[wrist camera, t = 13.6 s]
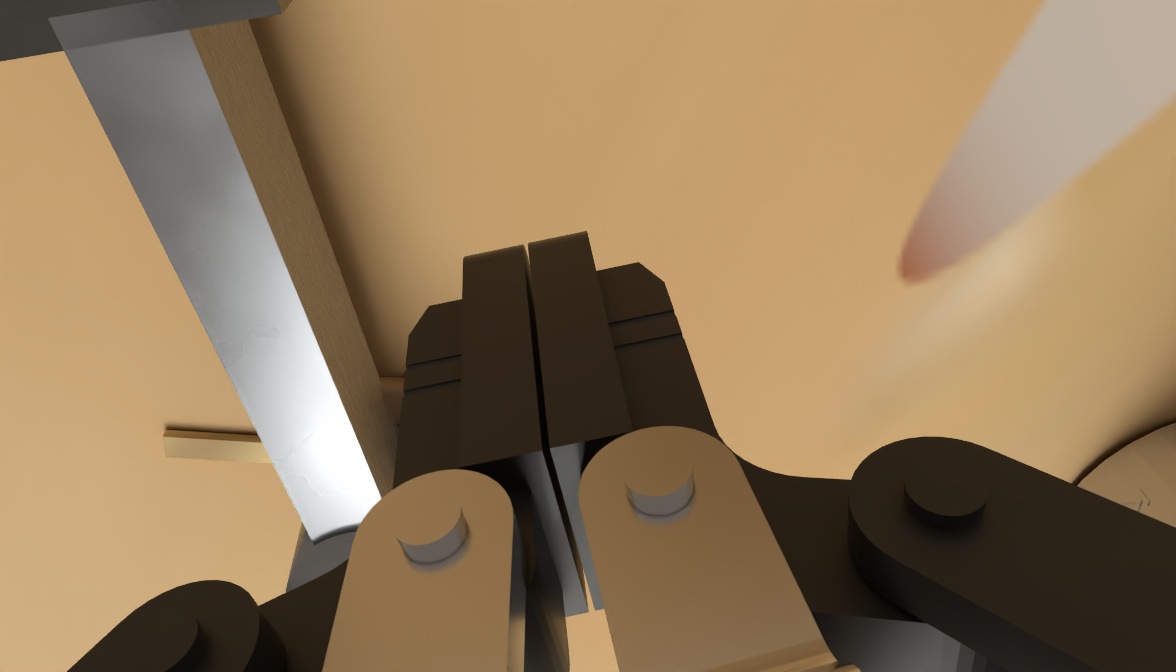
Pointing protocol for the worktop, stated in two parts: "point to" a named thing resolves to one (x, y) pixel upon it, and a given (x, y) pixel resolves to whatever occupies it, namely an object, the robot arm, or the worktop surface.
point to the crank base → (249, 436)
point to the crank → (236, 236)
